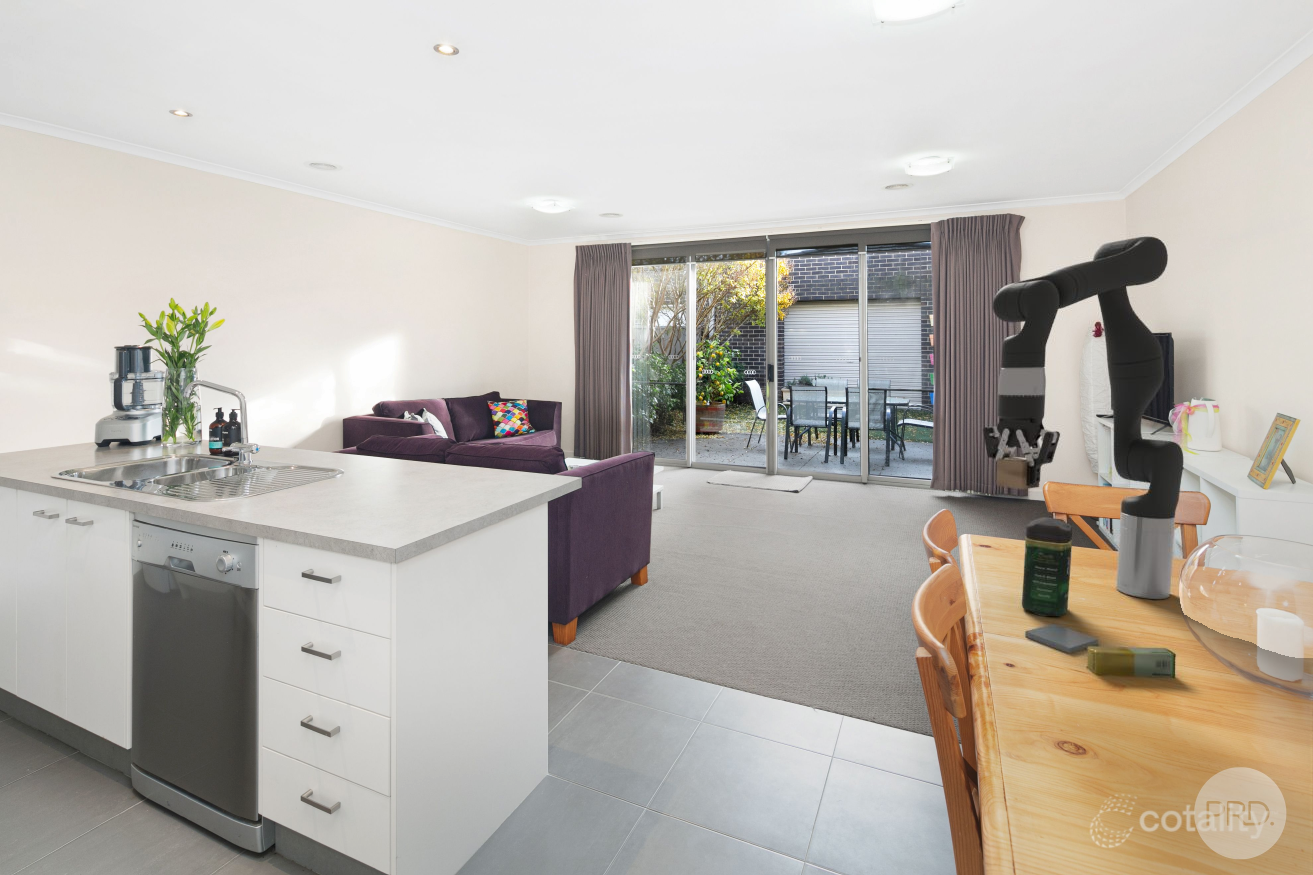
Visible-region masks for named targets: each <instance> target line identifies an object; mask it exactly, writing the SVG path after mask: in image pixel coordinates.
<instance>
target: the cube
mask: <svg viewBox="0 0 1313 875" xmlns="http://www.w3.org/2000/svg"><path fill="white" fill-rule="evenodd" d="M1027 466H1029V465H1028V463H1027V459H1026V457H1018V456H1014V457H1013V456H1011V457H1010V458H1003V459H997V461H996V481H995V484H996V486H997V487H1002V488H1003V487H1004V488H1010V489H1016V490H1028V489H1034V488H1040V482H1039V483H1038V484H1037V486H1033V487H1030V486H1027Z"/></svg>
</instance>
